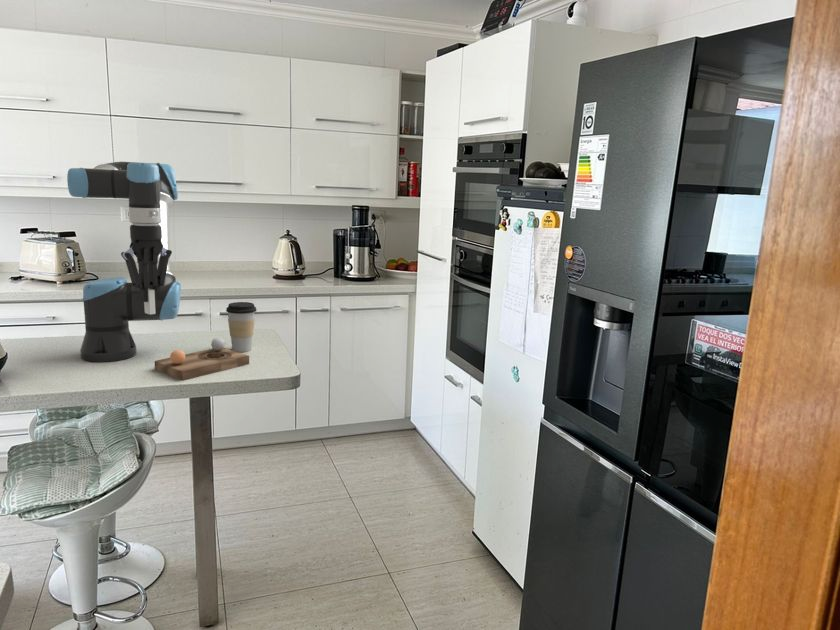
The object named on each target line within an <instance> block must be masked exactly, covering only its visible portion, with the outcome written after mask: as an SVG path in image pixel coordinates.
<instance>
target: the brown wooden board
mask: <svg viewBox="0 0 840 630" xmlns="http://www.w3.org/2000/svg"><path fill="white" fill-rule="evenodd" d="M184 354H185V353H184ZM245 365H250V355H248V354H245V353H243V352H236V351H233V350H232V349H229V348H226V347H224V348H223V349H222V350H220V351H216V350H214V349H213V348H209V349H205V350H200V351H195V352H190V353H186V354H185V360H184V362H183V363H181V364H174V363H173V362H172V361H171V359H170V357H166V358H163V359H157V360H154V370H155V371H158V372H161V373H164V374H166V375H168V376H170V377H173V378H176V379H179V380H181V381H185V380H189V379H194V378H198V377H202V376H206V375H210V374H214V373H217V372H221V371H226V370H230V369H233V368H238V367H242V366H245Z"/></svg>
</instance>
